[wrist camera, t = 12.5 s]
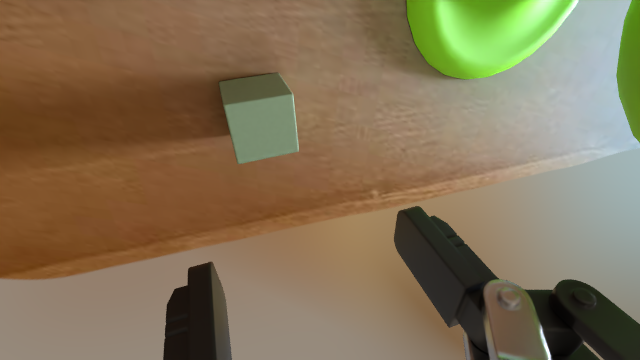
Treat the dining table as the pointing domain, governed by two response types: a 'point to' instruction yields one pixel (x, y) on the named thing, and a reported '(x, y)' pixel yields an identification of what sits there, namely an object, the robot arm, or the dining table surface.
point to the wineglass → (511, 39)
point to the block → (260, 117)
